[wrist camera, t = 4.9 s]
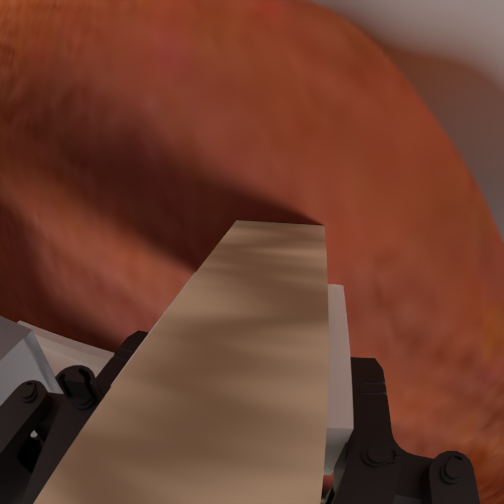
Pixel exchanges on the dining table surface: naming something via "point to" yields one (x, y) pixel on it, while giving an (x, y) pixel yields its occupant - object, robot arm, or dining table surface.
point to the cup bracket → (41, 357)
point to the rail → (219, 387)
